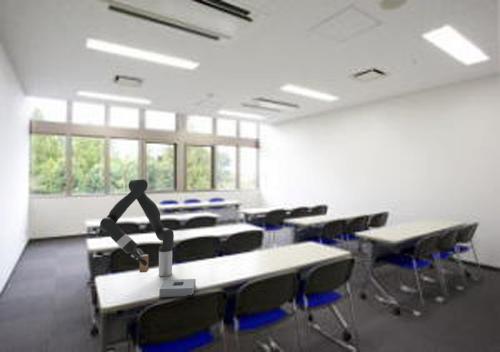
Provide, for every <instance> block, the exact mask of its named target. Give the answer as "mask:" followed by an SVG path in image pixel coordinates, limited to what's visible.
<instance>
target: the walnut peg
mask: <svg viewBox="0 0 500 352" xmlns="http://www.w3.org/2000/svg"><path fill="white" fill-rule="evenodd" d="M145 254H146V253H145ZM141 257H142V258H143V259H144V260H145V261H146V262H147V263H148V260H150V259H149V254H146V255H141ZM148 271H149V263H148V264H147V265H146V266H144V265H143V264H142V263H141V262H139V273H148Z"/></svg>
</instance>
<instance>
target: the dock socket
mask: <svg viewBox="0 0 500 352" xmlns="http://www.w3.org/2000/svg"><path fill="white" fill-rule="evenodd" d="M196 280H197V279H196V278H185V279H184V278H183V279H181V278H179V279H176V278H175V279H164V282H163V283H162V284H161V286H160V287H159V293H158V294H159V295H158V296H159V298H165V297H170V298H171V297H188V296H187V295H192V294H193V295H194V292H195V289H196V286H197V285H196Z"/></svg>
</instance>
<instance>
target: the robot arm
mask: <svg viewBox="0 0 500 352" xmlns="http://www.w3.org/2000/svg"><path fill="white" fill-rule="evenodd" d="M148 186H149V185H148V181H147V180H146V179H143V178H134V179H131V180H130V181H129V182H128V189H129V193H128V194H126V195H125V196H124V197H123V198H121V199H120V200H119V201H117V202H116V204H114V206H113V207H112V208H111V209H110V211H109V213H108V214H107V216H106V217H103V218H102V219H101V220H100V222H99V228H100V230H101V231H102V232H103V233H104V232H105V233H108V235H109V236H110V238H111V239H112V241H113V242H115V243H116V244H117V246H118V247H119V248H120V249H121V250H122V251H123V252H124V253H126V254H127V255H128V254H130V256H129V257H130V258H131V259H132V260H134V261H135V262H137V263H140V262H141V263H142V264H143V265H144V266H146V265H147V264H148V265H149V263H150V261H151V260H150V259H149V260H148V263H147V262H146V261H145V260H144V259H143V258H142V257H141V255H146V253H145V252H144V250H143V249H142V248H141V247H137V246H138V243H136V241H134V240H133V239H132V237H131V236H129V235H128V234H127V233H126V232H125V231H124V230H122V229H121V227H120V226H119V225H118V223H117V222H118V221H119V219H120V218H121V217H122V216H123V215H124V213H125V212H126V211H127V210H128V208H129V207H130V206H131V205H132V204H134V202H135V201H136V200H137V202H138V204H139V207H141V209H142V211H143V213H144V214H145V217H146V218H147V220H148V221H149V223H150V225H151V227H152V229H153V231H154V233H155V236H156V238H157V239H158V240H159V241H161V242H162V244H161V246H159V248H158V276H160V277H169V276H171V275H173V248H174V239H175V238H174V237H175V236H174V234H175V233H174V231H173V229H171V228H168V227H167V228H166V227H165V226H164V224H163V223H162V221H161V211H160V210H159V209H160V208H159V207H158V206H157V204H156V202H154V201H153V200H152V199H151V198H150V197H149V196H148V195H147V194H146V193H145V192H146V191H147V189H148Z"/></svg>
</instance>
